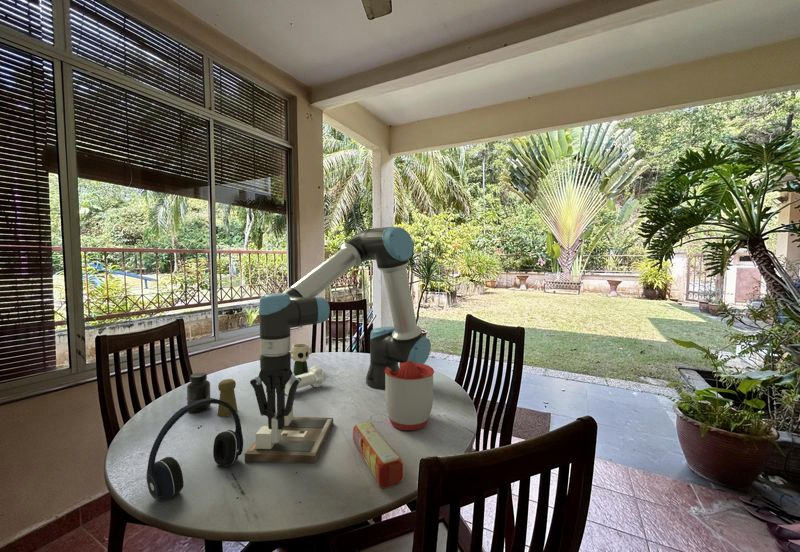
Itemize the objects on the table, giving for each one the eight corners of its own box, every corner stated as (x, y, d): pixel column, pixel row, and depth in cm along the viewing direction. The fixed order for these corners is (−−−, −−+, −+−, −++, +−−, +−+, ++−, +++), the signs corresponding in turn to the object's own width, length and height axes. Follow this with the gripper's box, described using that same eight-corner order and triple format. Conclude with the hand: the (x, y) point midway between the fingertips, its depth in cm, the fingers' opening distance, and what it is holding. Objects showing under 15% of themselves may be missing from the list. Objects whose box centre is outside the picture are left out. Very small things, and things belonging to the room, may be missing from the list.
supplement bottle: (213, 409, 114) (212, 374, 114) (190, 415, 109) (189, 379, 109) (206, 402, 119) (206, 369, 118) (184, 409, 114) (183, 374, 113)
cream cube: (277, 440, 91) (277, 426, 91) (270, 449, 87) (270, 434, 87) (262, 440, 91) (262, 425, 91) (255, 448, 87) (255, 433, 87)
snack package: (351, 444, 93) (351, 421, 93) (373, 439, 96) (373, 416, 96) (378, 493, 74) (378, 463, 74) (405, 485, 77) (405, 456, 77)
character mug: (293, 379, 143) (293, 349, 142) (285, 375, 148) (285, 346, 147) (315, 372, 151) (315, 344, 150) (307, 369, 156) (307, 341, 155)
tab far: (292, 419, 103) (292, 406, 102) (288, 425, 99) (288, 412, 99) (280, 419, 103) (280, 406, 103) (274, 425, 99) (274, 412, 99)
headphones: (231, 452, 89) (230, 385, 88) (247, 461, 85) (246, 390, 84) (143, 498, 72) (140, 415, 71) (158, 511, 68) (155, 424, 67)
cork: (241, 410, 114) (241, 378, 113) (227, 418, 108) (226, 384, 107) (227, 407, 116) (227, 376, 115) (213, 415, 110) (212, 382, 109)
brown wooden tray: (333, 424, 104) (333, 417, 104) (314, 463, 84) (314, 454, 84) (276, 422, 105) (276, 415, 105) (244, 461, 85) (244, 452, 85)
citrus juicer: (404, 405, 118) (405, 349, 117) (443, 422, 106) (444, 360, 105) (370, 419, 107) (370, 358, 106) (409, 441, 95) (410, 372, 94)
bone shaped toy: (290, 400, 123) (290, 379, 122) (279, 391, 129) (279, 371, 128) (324, 389, 134) (325, 369, 133) (313, 381, 140) (314, 362, 139)
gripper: (243, 356, 84) (245, 447, 85) (295, 357, 83) (296, 449, 85) (257, 348, 91) (258, 432, 93) (304, 349, 91) (305, 433, 92)
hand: (276, 440), depth 89 cm, fingers closed
